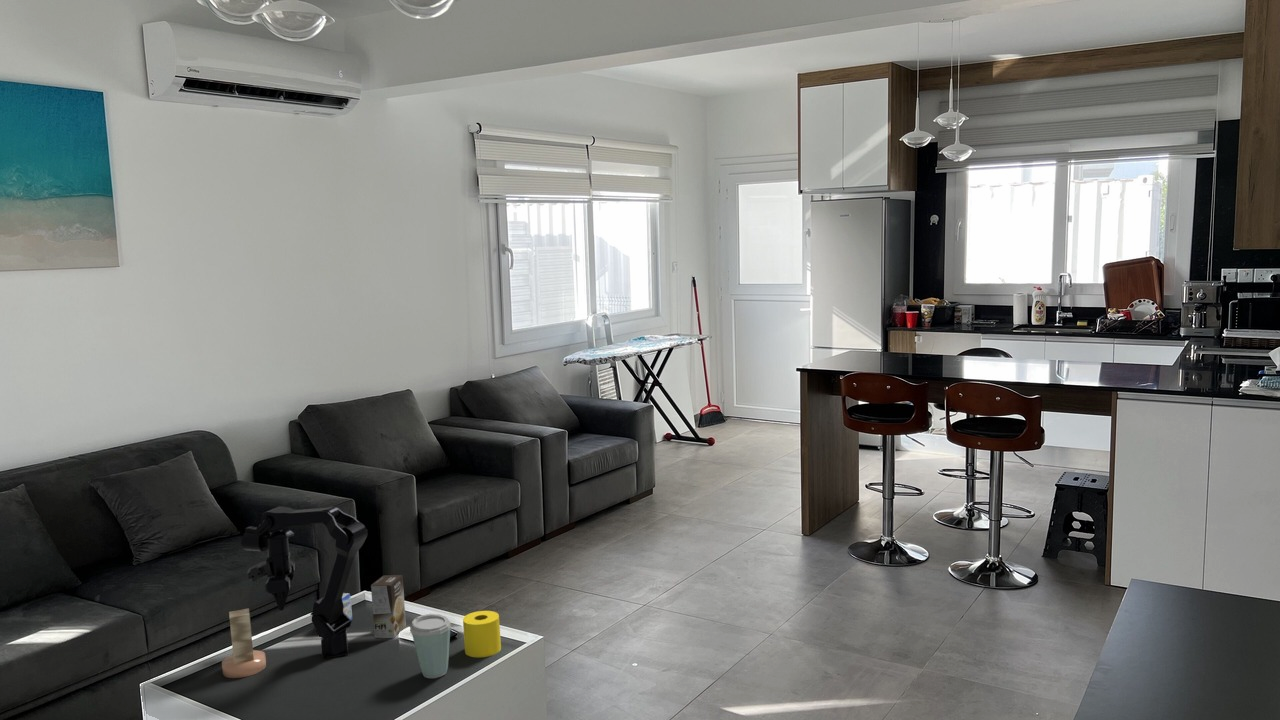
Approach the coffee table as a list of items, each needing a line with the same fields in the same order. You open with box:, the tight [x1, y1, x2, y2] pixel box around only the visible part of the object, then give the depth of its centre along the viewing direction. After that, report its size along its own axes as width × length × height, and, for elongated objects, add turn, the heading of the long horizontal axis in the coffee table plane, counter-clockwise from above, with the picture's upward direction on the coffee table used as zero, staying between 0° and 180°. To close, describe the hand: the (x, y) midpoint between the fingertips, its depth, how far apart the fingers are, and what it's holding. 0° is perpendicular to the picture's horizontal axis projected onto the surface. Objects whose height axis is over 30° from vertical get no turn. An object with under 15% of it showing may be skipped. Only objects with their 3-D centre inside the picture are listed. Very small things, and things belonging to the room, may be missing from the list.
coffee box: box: [370, 574, 407, 639], centre depth 280 cm, size 9×6×16 cm
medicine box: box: [331, 592, 353, 627], centre depth 288 cm, size 8×4×9 cm, turn 169°
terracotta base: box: [221, 649, 267, 679], centre depth 259 cm, size 11×11×3 cm
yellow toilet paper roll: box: [462, 610, 502, 658], centre depth 265 cm, size 10×10×9 cm
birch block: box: [228, 608, 254, 664], centre depth 259 cm, size 5×5×13 cm
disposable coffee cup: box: [409, 613, 452, 679], centre depth 250 cm, size 11×11×15 cm
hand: (283, 604), depth 271 cm, fingers open, 9 cm apart
